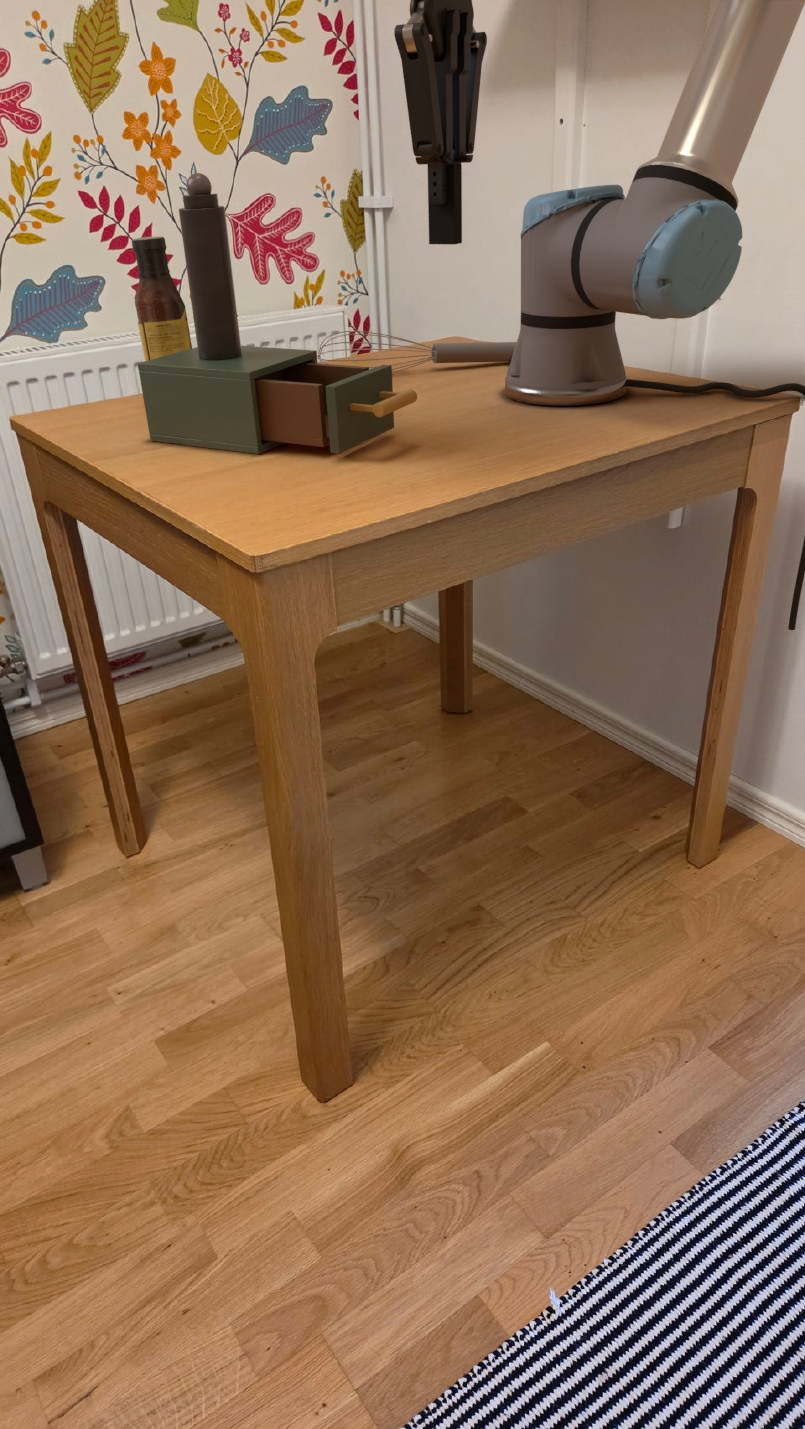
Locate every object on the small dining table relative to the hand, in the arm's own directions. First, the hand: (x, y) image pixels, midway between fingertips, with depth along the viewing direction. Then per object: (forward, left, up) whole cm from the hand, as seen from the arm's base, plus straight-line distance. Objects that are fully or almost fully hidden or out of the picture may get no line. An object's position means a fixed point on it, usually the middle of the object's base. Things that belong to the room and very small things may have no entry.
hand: (445, 243), depth 93 cm
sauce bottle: (+46, -10, -21) cm, 51 cm away
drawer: (+15, 0, -19) cm, 25 cm away
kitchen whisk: (+24, -40, -21) cm, 51 cm away
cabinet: (+28, 0, -20) cm, 35 cm away
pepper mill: (+29, 0, -12) cm, 31 cm away
